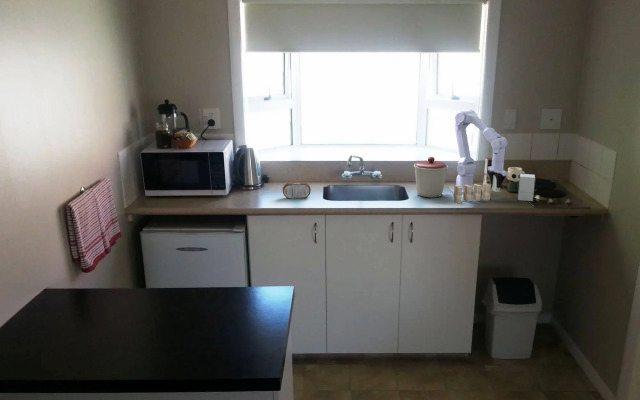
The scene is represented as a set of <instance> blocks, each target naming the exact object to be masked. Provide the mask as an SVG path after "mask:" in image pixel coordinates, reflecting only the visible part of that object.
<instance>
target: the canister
mask: <svg viewBox="0 0 640 400" xmlns="http://www.w3.org/2000/svg"><path fill="white" fill-rule="evenodd" d="M413 167H414V175H415V186H416V192H417V194H418V195H419V196H420V197H422V198H423V197H424V198H438V197H440V196H441V195H442V194H443V193H444V187H445V183H446V177H447V170H448V168H449V165H448V164H446V163H445V162H442V161H439V160H435V157H434V156H428V157H427V160H421V161H417V162H415V163H414V164H413Z"/></svg>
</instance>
